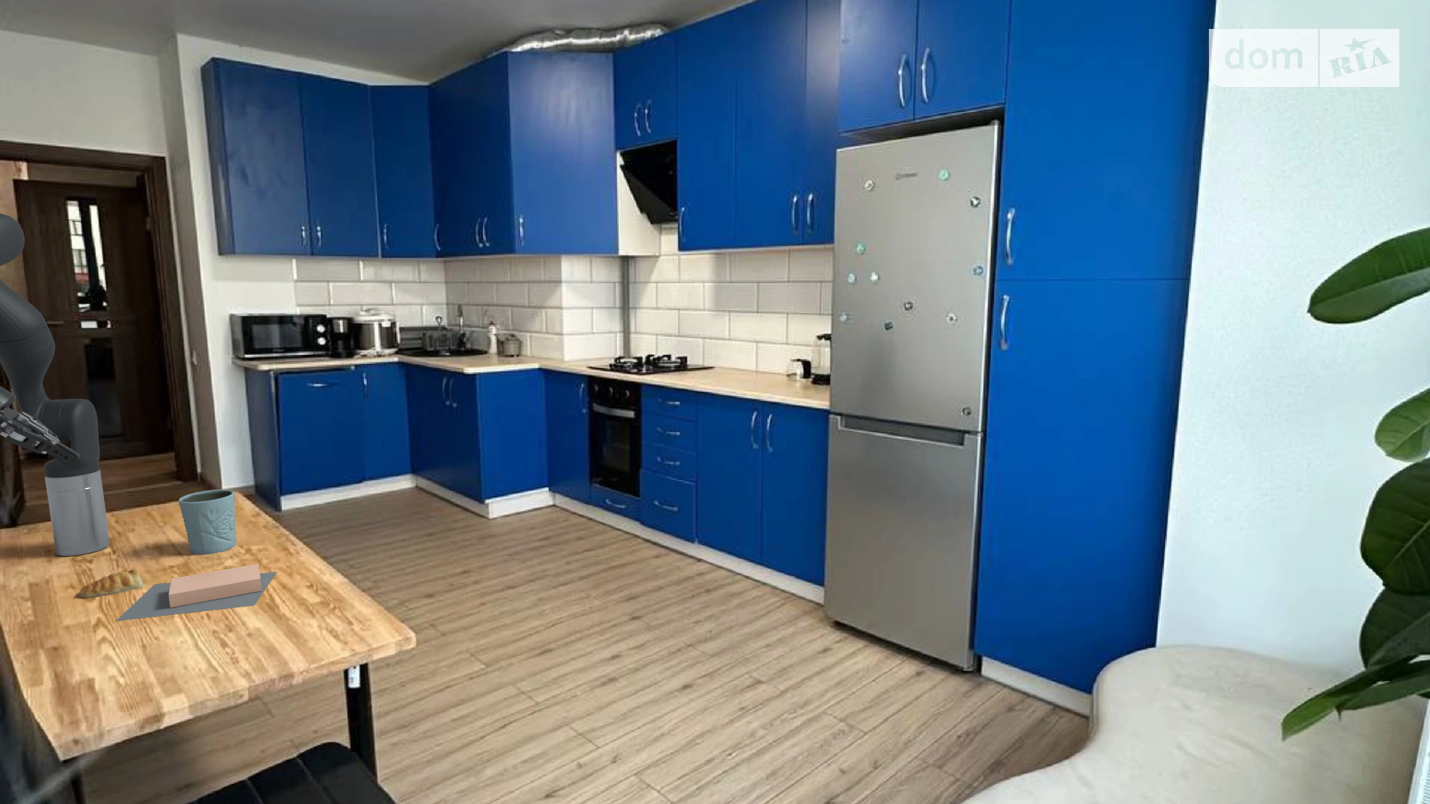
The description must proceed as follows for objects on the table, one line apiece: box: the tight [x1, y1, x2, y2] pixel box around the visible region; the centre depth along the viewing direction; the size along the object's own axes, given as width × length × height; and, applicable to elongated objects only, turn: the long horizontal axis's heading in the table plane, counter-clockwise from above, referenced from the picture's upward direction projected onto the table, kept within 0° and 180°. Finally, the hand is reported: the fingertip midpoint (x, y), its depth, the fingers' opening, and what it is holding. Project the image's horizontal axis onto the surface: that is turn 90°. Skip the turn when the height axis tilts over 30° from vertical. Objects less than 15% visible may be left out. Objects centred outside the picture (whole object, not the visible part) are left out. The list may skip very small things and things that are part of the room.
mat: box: [115, 571, 278, 622], centre depth 142 cm, size 17×21×1 cm
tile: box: [169, 563, 262, 608], centre depth 143 cm, size 3×9×14 cm
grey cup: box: [178, 489, 237, 556], centre depth 168 cm, size 10×10×12 cm
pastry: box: [79, 568, 144, 599], centre depth 145 cm, size 9×7×4 cm
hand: (75, 460), depth 132 cm, fingers closed
